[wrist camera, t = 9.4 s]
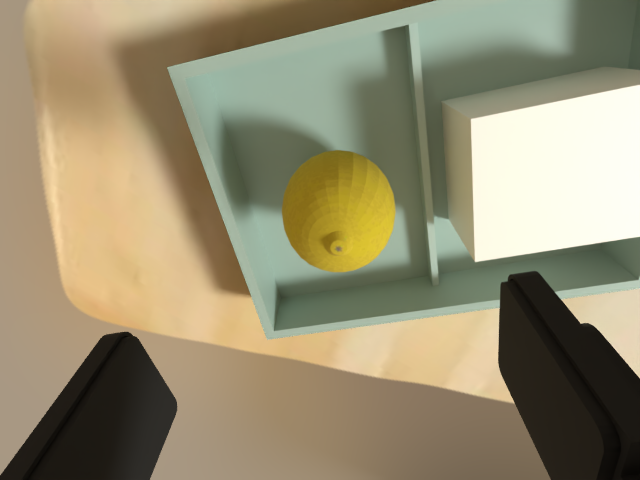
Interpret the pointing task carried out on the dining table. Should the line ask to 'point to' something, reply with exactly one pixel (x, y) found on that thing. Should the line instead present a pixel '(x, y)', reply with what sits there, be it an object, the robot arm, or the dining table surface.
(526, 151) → the carton
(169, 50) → the dining table surface
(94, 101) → the dining table surface
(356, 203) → the lemon
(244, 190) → the tray
